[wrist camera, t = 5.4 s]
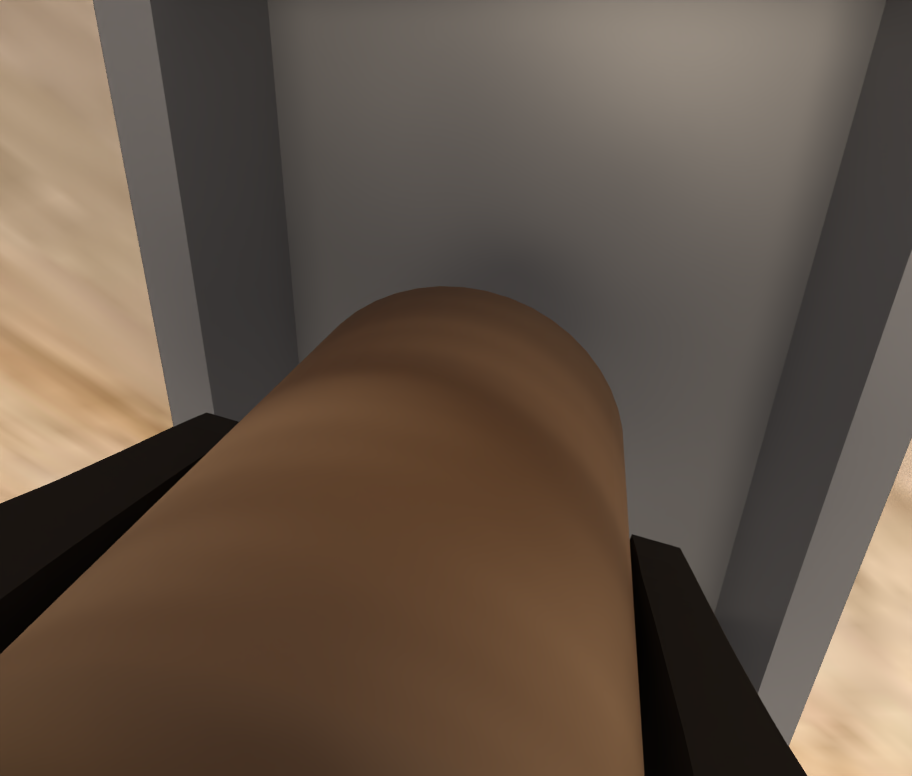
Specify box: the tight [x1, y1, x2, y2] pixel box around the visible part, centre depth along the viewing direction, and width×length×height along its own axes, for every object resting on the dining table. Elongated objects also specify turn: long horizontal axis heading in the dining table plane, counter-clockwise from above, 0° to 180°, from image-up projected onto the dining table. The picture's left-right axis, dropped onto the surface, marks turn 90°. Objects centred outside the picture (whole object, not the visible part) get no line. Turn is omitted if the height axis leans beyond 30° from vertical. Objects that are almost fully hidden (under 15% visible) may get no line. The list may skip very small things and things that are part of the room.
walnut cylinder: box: [0, 286, 644, 776], centre depth 8 cm, size 5×5×7 cm
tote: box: [93, 0, 912, 746], centre depth 16 cm, size 14×18×5 cm
